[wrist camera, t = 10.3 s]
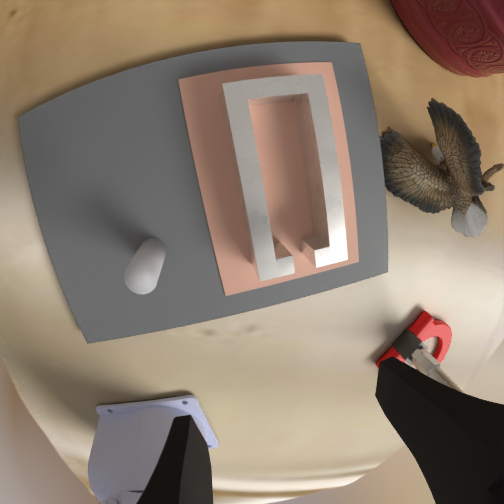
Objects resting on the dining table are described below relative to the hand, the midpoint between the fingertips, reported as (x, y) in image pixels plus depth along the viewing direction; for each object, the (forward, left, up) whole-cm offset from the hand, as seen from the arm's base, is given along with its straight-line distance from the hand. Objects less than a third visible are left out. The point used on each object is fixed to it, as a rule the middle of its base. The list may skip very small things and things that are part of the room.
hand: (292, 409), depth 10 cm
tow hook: (+15, -12, -11) cm, 22 cm away
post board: (-1, +7, -10) cm, 13 cm away
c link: (+3, +7, -9) cm, 12 cm away
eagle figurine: (+15, +6, -11) cm, 19 cm away
